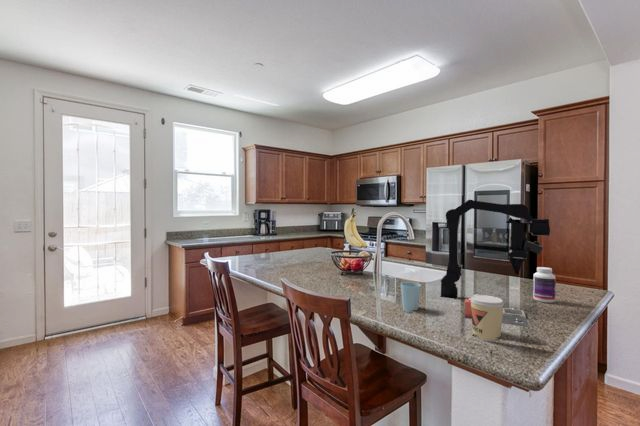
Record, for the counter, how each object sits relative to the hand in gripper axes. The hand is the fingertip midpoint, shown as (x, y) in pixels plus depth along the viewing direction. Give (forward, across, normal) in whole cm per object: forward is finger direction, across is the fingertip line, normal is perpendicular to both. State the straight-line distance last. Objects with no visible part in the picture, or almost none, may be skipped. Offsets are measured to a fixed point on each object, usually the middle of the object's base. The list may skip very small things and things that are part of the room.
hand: (517, 272), depth 134 cm
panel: (+14, -20, +7) cm, 25 cm away
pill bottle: (+14, +16, -10) cm, 24 cm away
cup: (+15, -30, +35) cm, 48 cm away
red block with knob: (+13, -26, +14) cm, 32 cm away
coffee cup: (+14, -42, +8) cm, 45 cm away
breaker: (+13, -12, +12) cm, 21 cm away
